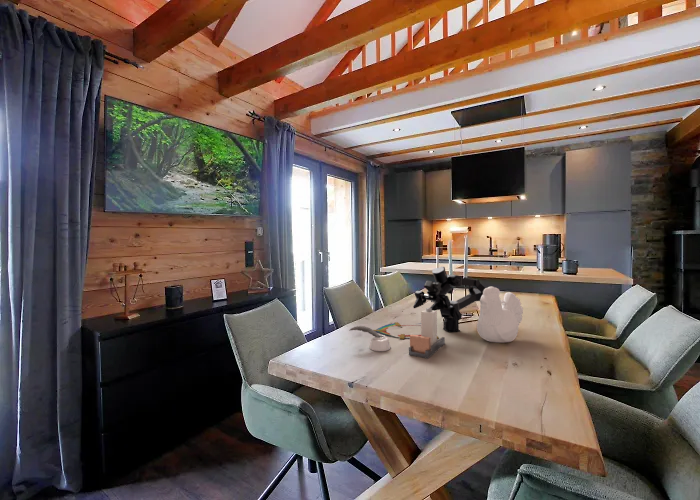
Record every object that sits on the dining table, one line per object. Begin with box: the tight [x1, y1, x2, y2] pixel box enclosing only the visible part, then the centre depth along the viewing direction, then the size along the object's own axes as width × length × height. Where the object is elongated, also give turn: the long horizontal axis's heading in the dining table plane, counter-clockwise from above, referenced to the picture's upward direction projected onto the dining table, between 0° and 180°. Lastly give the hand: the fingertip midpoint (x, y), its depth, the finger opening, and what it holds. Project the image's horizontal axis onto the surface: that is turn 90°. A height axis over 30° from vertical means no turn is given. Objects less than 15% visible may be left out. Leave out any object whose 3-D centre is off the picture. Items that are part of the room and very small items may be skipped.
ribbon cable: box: [373, 321, 440, 340], centre depth 166 cm, size 29×1×30 cm
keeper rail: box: [408, 334, 446, 359], centre depth 138 cm, size 20×8×8 cm, turn 145°
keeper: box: [420, 307, 438, 346], centre depth 139 cm, size 5×5×15 cm
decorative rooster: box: [476, 286, 524, 343], centre depth 146 cm, size 25×16×25 cm, turn 103°
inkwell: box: [348, 325, 391, 352], centre depth 140 cm, size 9×18×10 cm, turn 99°
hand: (421, 309), depth 151 cm, fingers open, 9 cm apart
